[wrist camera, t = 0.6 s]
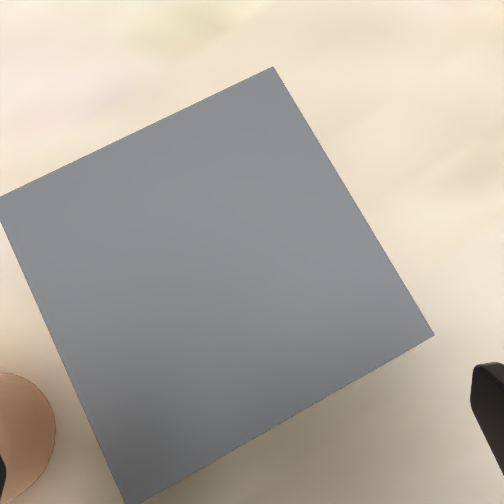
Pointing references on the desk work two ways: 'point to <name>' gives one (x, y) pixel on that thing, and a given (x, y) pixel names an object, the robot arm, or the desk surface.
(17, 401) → the terracotta cylinder
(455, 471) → the desk surface
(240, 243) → the base block
